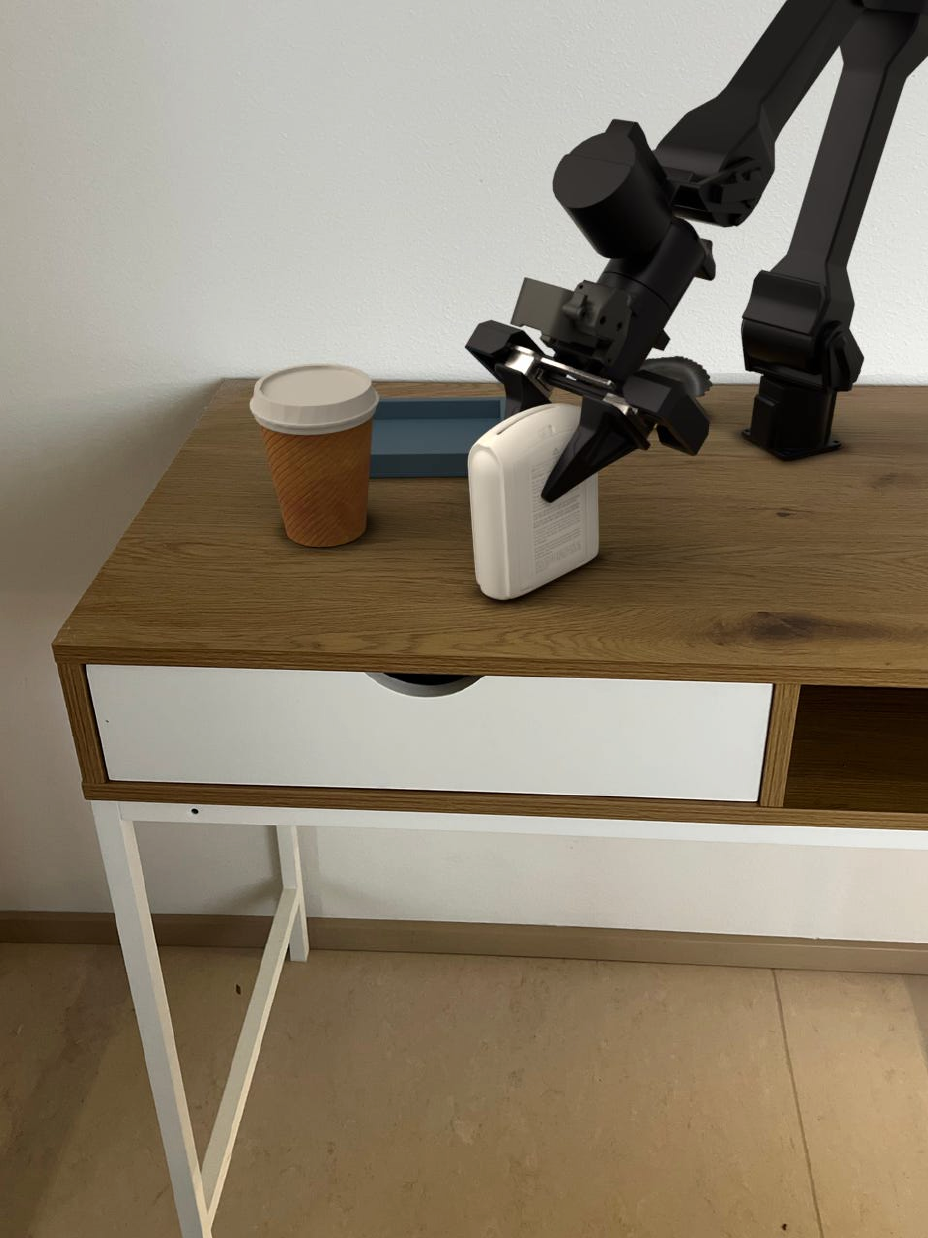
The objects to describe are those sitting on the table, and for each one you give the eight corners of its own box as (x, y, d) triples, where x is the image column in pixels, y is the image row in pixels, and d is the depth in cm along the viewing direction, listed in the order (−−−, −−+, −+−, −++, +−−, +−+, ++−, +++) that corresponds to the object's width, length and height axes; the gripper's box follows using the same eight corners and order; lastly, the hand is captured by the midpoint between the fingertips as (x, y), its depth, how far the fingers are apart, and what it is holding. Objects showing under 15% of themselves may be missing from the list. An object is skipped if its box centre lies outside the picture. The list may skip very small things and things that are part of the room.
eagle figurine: (621, 430, 103) (719, 408, 102) (604, 353, 103) (702, 330, 102) (612, 443, 110) (704, 422, 110) (596, 371, 110) (688, 350, 110)
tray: (508, 418, 108) (508, 396, 107) (512, 475, 98) (513, 452, 97) (323, 420, 109) (321, 398, 107) (307, 478, 98) (305, 454, 97)
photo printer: (566, 539, 88) (561, 384, 82) (608, 556, 85) (606, 396, 79) (467, 589, 82) (453, 427, 76) (508, 609, 79) (498, 442, 73)
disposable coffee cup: (282, 568, 85) (264, 417, 79) (253, 513, 93) (235, 371, 86) (402, 543, 88) (395, 396, 81) (365, 493, 95) (356, 354, 89)
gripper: (483, 203, 79) (367, 396, 79) (701, 255, 67) (567, 482, 67) (557, 293, 88) (453, 467, 87) (762, 352, 76) (643, 553, 76)
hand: (520, 489), depth 79 cm, fingers closed on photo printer, 4 cm apart
